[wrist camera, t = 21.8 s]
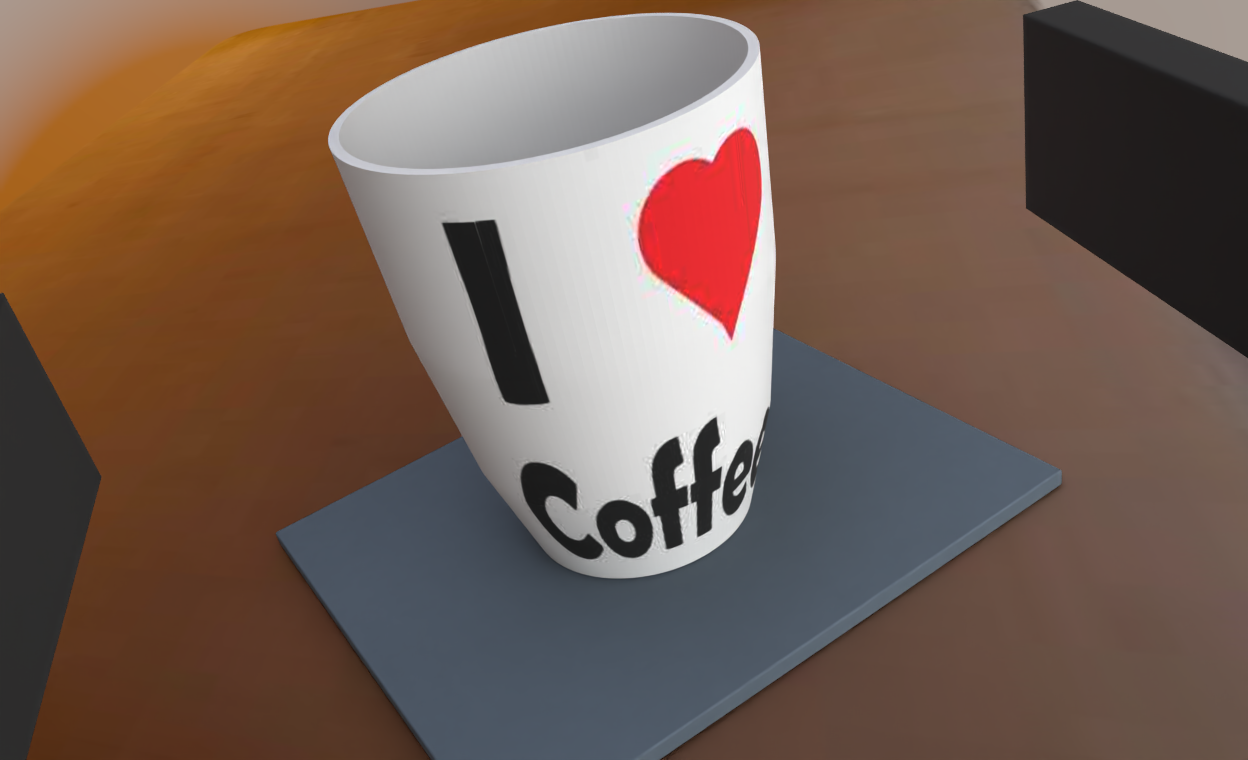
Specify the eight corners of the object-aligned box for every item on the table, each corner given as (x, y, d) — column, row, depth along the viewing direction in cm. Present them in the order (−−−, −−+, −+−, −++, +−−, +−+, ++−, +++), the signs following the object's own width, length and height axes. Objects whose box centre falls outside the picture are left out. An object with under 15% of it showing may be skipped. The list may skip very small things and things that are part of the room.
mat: (505, 867, 20) (500, 852, 20) (280, 544, 29) (274, 532, 29) (1062, 484, 25) (1062, 469, 25) (724, 314, 35) (722, 302, 34)
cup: (501, 680, 23) (338, 219, 18) (448, 463, 30) (320, 84, 25) (882, 551, 24) (832, 78, 19) (746, 369, 31) (682, -14, 26)
